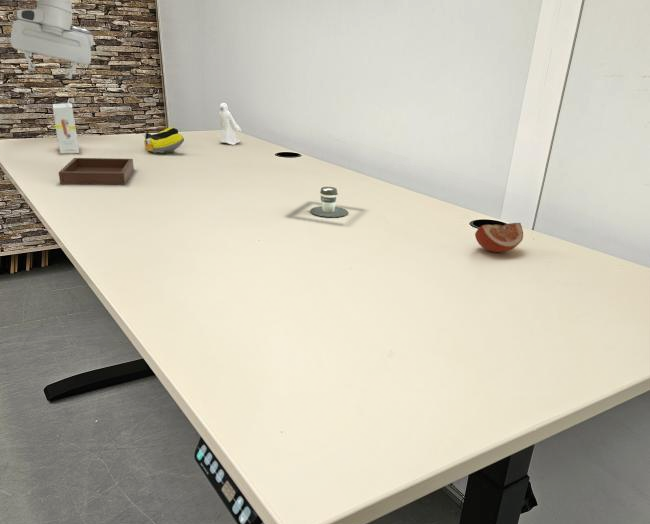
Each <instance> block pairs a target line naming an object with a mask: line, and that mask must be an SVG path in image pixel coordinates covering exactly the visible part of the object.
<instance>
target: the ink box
mask: <svg viewBox="0 0 650 524" xmlns="http://www.w3.org/2000/svg"><path fill="white" fill-rule="evenodd" d="M52 113H53V119H54V127H55V133H56V139H57V144H58V150H59V153H60V155H61V154H62V155H63V154H64V155H65V154H80V147H79V141H78V134H77V128H76V127H77V126H76V121H75V115H74V109H73V103H71V102H67V103H65V102H63V103H52Z"/></svg>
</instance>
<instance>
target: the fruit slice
mask: <svg viewBox="0 0 650 524" xmlns="http://www.w3.org/2000/svg"><path fill="white" fill-rule="evenodd" d="M474 236H475V240H476V242H477V243H478V245H479V246H480V247H482V248H483V249H484V250H487V251H489V252H493V253H503V252H507V251H511V250H513V249H515V248H516V247H517V246H519V244H521V242H522V241H523V240H524V229H523V226H522V223H521V222H511V223H506V224H504V225H502V224H497V223H496V224H482V225H480V226H479V227H478V229H476V231H475V233H474Z"/></svg>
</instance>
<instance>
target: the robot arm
mask: <svg viewBox="0 0 650 524" xmlns="http://www.w3.org/2000/svg"><path fill="white" fill-rule="evenodd" d="M35 1H36V8H26V9H18V10H17V11H16V17H17V19H16V20H15V21H14V22H13V24H12V28H11V31H10V32H11V33H10V39H9V40H10V42H9V43H10V46H11V47H12V48H13V49H14V50H18V51H22V52H24V57H25V60H26V62H27V64H28V65H27V69H28V71H31V72H35V71H36V64H35V63H32V59H31V58H32V56H33V55H32V54H35V55H40V56H43V57H47V58H53V59H56V60H60V61H65V62H69V63H70V66H71V67H70V69H69V71H67V70H65V75H64V76H65V77H64V78H65V79H68V80H72V79H73V78H72V77H73V74H74V73H75V71H76V69H77V67H78V65H82V66H89V65H91V63H92V47H93V46H94V43H95V42H94V40H95V37H94V35H93V33H92V32H90V30H88V29H86V28H80V27H78V26H75V25H72V24H73V9H72V8H73V7H72V6H73V5H72V4H73V0H35Z"/></svg>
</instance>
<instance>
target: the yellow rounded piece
mask: <svg viewBox="0 0 650 524" xmlns="http://www.w3.org/2000/svg"><path fill="white" fill-rule="evenodd" d="M142 135H143V137H144V148H146V151H148V152H152V153H165V154H166V153H167V154H168V153H171V152H173V151H175V150H177V149H178V148H180V147H181V146H182V144H183V143H184V142H185V137H184V135H183V134H181V133H179V130H178V128H176V127H174V126H170V127H167V128H165V129H163V130H162V131H159V132H158V133H154V134H151V133H149V132H145V133H143V134H142Z"/></svg>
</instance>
